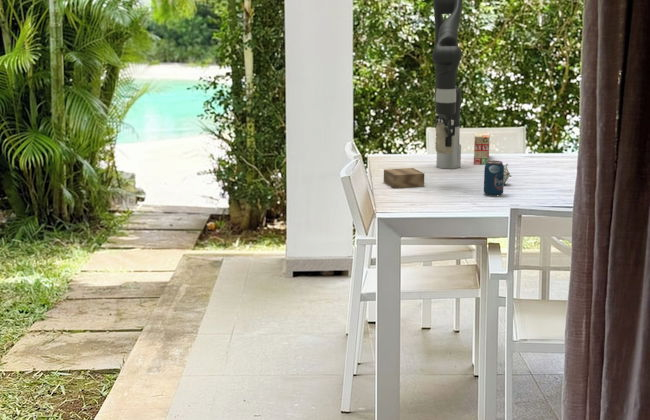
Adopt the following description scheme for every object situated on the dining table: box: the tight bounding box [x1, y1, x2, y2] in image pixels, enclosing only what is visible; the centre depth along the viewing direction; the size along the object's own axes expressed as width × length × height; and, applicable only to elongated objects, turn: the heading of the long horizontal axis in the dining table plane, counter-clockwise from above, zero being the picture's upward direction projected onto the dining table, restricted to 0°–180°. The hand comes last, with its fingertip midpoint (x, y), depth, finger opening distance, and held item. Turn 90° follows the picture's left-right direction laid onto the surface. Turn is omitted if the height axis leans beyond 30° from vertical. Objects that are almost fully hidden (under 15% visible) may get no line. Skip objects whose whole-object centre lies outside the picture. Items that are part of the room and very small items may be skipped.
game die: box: [503, 163, 512, 186], centre depth 366 cm, size 9×8×10 cm
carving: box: [434, 122, 454, 154], centre depth 359 cm, size 6×8×12 cm
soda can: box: [483, 160, 504, 197], centre depth 348 cm, size 7×7×12 cm
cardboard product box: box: [473, 131, 491, 166], centre depth 416 cm, size 21×6×12 cm, turn 170°
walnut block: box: [383, 167, 425, 189], centre depth 367 cm, size 12×12×5 cm
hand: (444, 145), depth 360 cm, fingers closed on carving, 6 cm apart
